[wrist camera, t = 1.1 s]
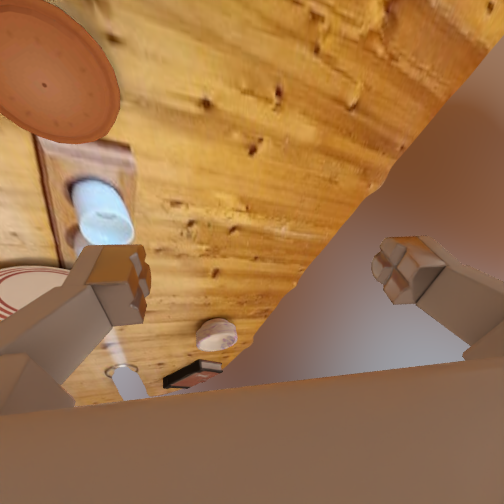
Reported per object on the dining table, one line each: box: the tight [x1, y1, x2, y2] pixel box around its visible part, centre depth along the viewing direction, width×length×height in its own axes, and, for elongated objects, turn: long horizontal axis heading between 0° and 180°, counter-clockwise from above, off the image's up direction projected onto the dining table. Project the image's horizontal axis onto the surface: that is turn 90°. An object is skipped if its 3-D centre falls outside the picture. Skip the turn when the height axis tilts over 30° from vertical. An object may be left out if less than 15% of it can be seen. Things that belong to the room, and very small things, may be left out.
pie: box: [0, 0, 120, 144], centre depth 31 cm, size 15×16×5 cm
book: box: [163, 359, 223, 389], centre depth 131 cm, size 26×18×5 cm
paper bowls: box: [196, 318, 237, 351], centre depth 94 cm, size 15×15×8 cm
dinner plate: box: [0, 266, 70, 320], centre depth 62 cm, size 28×27×3 cm
